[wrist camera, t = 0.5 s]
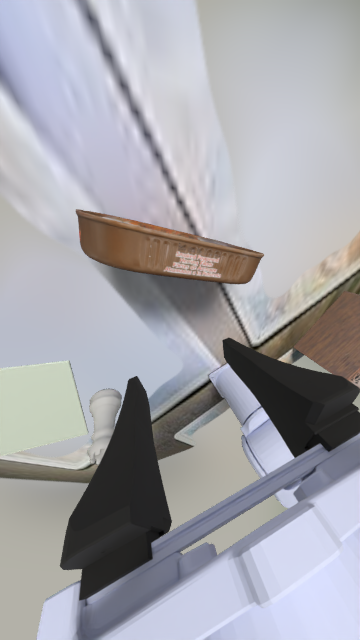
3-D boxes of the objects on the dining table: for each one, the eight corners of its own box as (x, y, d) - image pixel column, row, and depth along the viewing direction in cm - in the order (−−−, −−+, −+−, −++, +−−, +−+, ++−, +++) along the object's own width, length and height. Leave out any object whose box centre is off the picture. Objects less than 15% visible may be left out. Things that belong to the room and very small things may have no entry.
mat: (69, 360, 20) (68, 362, 20) (88, 432, 27) (88, 433, 27) (-73, 376, 16) (-76, 379, 16) (-6, 455, 23) (-7, 458, 23)
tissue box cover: (292, 346, 36) (344, 381, 28) (343, 290, 32) (421, 312, 24) (329, 367, 49) (373, 396, 40) (369, 329, 45) (426, 352, 37)
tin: (229, 243, 19) (291, 252, 12) (221, 269, 21) (273, 291, 14) (86, 209, 14) (55, 190, 7) (88, 248, 15) (64, 266, 8)
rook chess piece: (101, 383, 23) (95, 445, 17) (127, 391, 26) (131, 447, 19) (83, 403, 24) (70, 469, 17) (110, 409, 26) (108, 469, 20)
